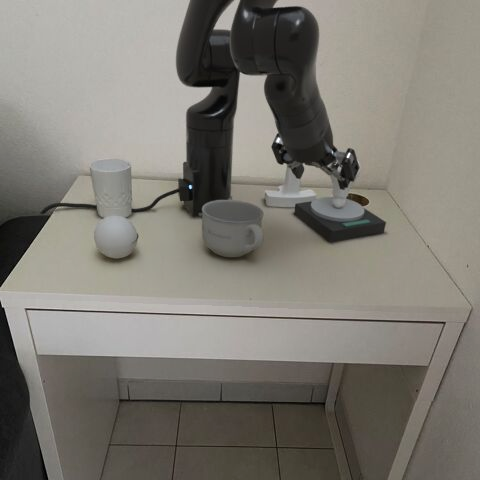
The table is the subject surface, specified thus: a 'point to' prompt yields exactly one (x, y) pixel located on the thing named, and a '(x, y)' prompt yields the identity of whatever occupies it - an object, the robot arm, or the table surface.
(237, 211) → the teacup
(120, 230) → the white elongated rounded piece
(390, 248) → the table surface
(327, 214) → the scale
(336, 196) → the lightbulb
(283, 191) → the joystick
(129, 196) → the white cup
